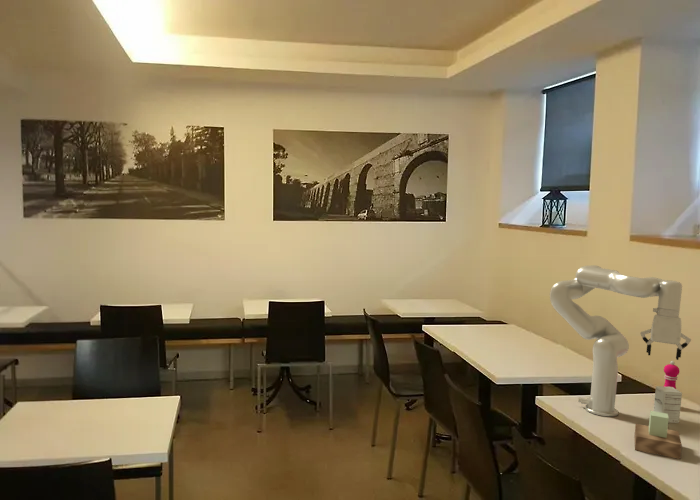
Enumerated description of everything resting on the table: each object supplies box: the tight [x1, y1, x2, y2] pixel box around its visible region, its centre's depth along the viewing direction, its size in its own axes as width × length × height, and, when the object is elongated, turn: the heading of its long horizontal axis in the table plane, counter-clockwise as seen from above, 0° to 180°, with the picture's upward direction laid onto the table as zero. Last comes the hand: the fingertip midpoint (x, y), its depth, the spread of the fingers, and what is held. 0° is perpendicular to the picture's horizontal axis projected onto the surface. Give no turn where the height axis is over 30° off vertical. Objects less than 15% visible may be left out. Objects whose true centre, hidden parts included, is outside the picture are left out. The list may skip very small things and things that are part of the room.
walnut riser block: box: [633, 423, 683, 460], centre depth 216 cm, size 14×14×5 cm
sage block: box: [648, 410, 669, 438], centre depth 216 cm, size 6×6×7 cm
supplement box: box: [652, 385, 683, 424], centre depth 247 cm, size 7×7×13 cm
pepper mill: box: [663, 360, 680, 389], centre depth 264 cm, size 7×7×20 cm
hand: (663, 356), depth 234 cm, fingers open, 9 cm apart
